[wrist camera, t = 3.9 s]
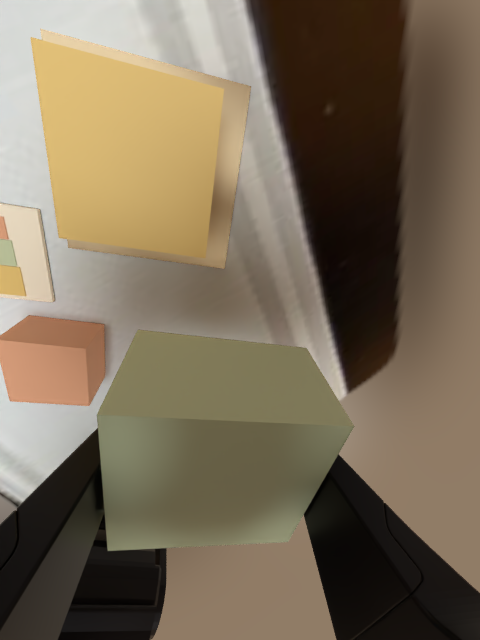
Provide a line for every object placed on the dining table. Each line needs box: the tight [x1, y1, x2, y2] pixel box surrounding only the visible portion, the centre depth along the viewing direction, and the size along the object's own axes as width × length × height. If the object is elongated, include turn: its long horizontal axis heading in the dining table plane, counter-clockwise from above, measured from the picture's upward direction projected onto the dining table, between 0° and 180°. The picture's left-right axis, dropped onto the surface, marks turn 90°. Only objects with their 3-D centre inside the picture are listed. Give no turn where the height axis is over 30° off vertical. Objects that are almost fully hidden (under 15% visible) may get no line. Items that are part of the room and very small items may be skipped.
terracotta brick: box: [0, 315, 105, 406], centre depth 18 cm, size 5×5×4 cm
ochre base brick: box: [31, 37, 224, 258], centre depth 13 cm, size 7×7×4 cm
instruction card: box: [0, 203, 55, 302], centre depth 16 cm, size 6×5×1 cm
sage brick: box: [97, 330, 354, 551], centre depth 9 cm, size 6×6×4 cm
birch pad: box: [41, 29, 251, 269], centre depth 15 cm, size 10×10×1 cm
